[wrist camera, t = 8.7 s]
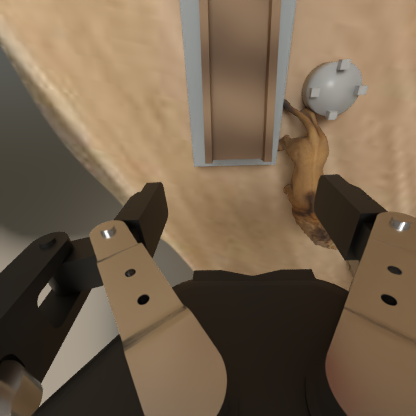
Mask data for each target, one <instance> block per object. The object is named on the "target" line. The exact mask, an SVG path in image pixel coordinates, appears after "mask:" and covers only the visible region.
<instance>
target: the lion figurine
mask: <svg viewBox="0 0 416 416" xmlns="http://www.w3.org/2000/svg"><path fill="white" fill-rule="evenodd" d="M283 107H284V108H285V110H286V111H288V112H290V113H292V114H293V115H295V116H296V117H298V118H299V119H300V120H301V121H302V123H303V124H304V125H305V127H306V129H307V134H306V136H305V137H299V138H294V139H291V138H290V137H289V135H285V136H284V137H283V138H281V139H280V140H279V142H278V151H282V150H284V149H285V148H286V151H287V154H288V155H289V156H290V157H291V159H292V160H293V161H294V162H295V163H296V164H295V168H294V171H293V175H292V185H293V186H292V185H287V186H286V187H285V188H284V192H285V193H286V194H288V197H289V201H290V202H291V203H292V206H293V207H292V213H293V216H294V218H295V219H296V223H297V224H298V225H299V226H300V227H301V229H302V230H303V231H304V233H305V234H306V235H308V237H309V238H310V239H311V240H312V241H313V242H314V244H315V245H320V246H322V247H326V248H328V249H330V248H331V249H335V250H337V247H336V246H335V244H334V243H333V241H332V240H331V238H330V237H329V235H328V233H327V232H326V230H325V229H324V227H323V226H322V224H321V223H320V221H319V220H318V218H317V217H316V215H315V212H314V200H315V195H316V190H317V185H318V180H319V178H320V176H321V175H323V167H324V164H325V162H326V160H327V157H328V154H329V147H328V141H327V138H326V136H325V134H324V133H323V132H322V130H321V129H320V128H319V126H318V124H317V121H316V115H315V113H314V112H313V111H311V110H310V109H309V108H305V109H303V110H302V111H301V112H300V111H298V110H296V109H295V108H293V107H292V106H291V105H290V103H289V102H288V101H287V100H285V99H284V102H283Z"/></svg>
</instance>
